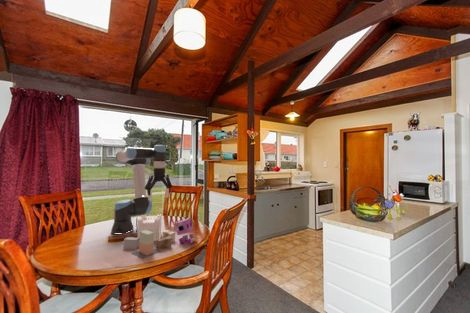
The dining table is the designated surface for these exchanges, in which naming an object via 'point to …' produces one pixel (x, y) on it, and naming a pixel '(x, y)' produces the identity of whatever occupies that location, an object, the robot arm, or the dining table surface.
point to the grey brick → (131, 243)
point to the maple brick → (170, 234)
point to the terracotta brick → (145, 248)
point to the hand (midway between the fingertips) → (158, 198)
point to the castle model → (150, 226)
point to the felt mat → (144, 254)
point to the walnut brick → (163, 243)
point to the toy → (185, 230)
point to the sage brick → (146, 237)
